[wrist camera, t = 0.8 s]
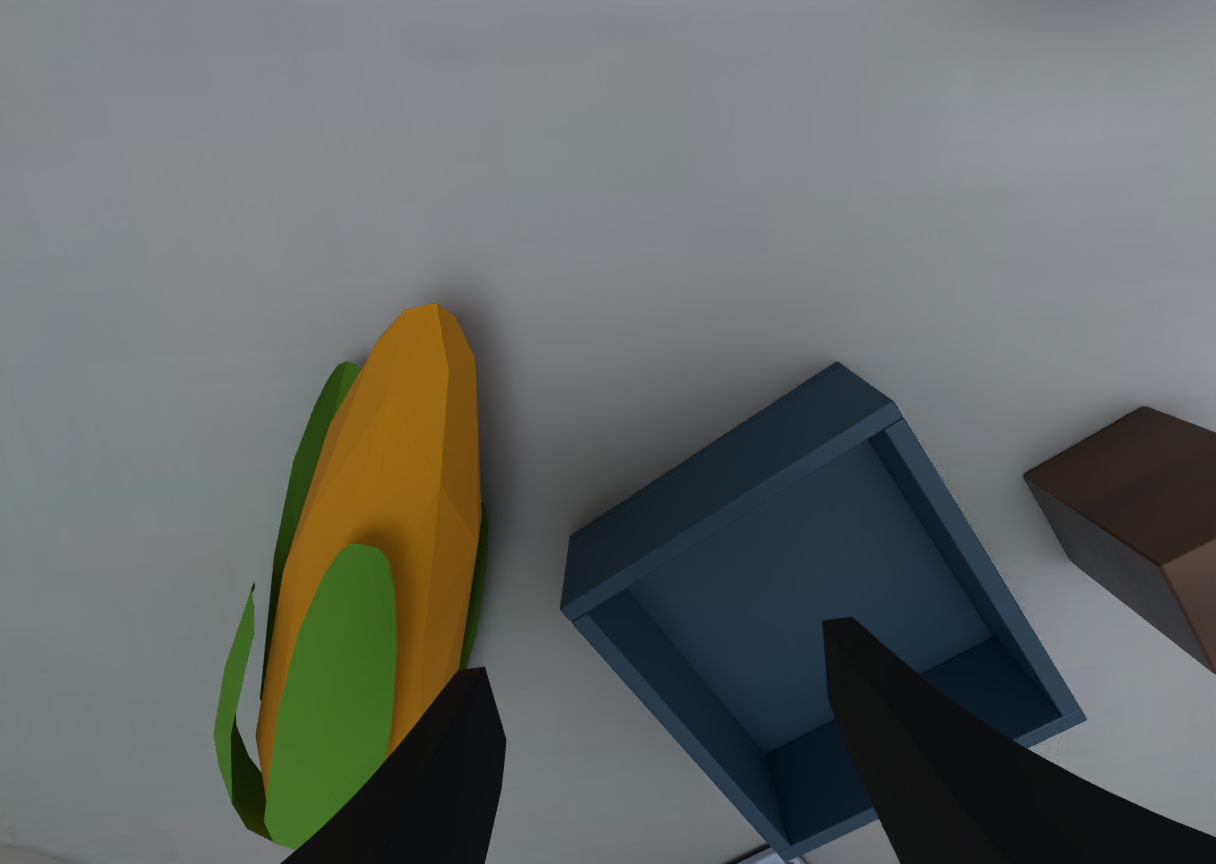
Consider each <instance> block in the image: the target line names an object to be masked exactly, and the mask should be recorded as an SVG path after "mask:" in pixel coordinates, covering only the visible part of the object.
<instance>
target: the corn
mask: <svg viewBox="0 0 1216 864" xmlns="http://www.w3.org/2000/svg"><path fill="white" fill-rule="evenodd" d="M487 540H488V525H487V518H486V510H485V505H484V504H483V503H482V501H481V487H480V461H479V434H478V408H477V382H476V359H475V357H474V354H473V352H472V350H471V348H470V346H469V344H468V342H467V340H466V338H465V335H464V333H463V331H462V329H461V327H460V325H459V323H458V321H457V318H456V317H455V316H454V315H452V314H451V313H450V312H448V311H447V310H446V309H444V308H443V307H441V306H440V305H439V304H437V303H435V304H430V305H425V306H421V307H416V308H412V309H407V310H404V312H403V313H402V314H401V315H400V316H399V317H398V318H397V319H396V320H395V321H394V323H393V324H392V325H391V326H390V327H389V328H388V329H387V330H386V331H385V332H384V334H383V335H382V336H381V337H380V338H379V340H378V342H377V343H376V345H375V346H374V348H373V350H372V352H371V353H370V355H369V357H368V359H367V360H366V362H365V364H364V366H363V367H362V369H361V371H360V370H359V368H358V367H357V365H356V364H353V363H350V362H344V363H342V364H339V365H338V366H337V367H336V369H335V370H334V371H333V373H332V374H331V376H330V377H329V379H328V380H327V382H326V384H325V386H324V388H323V390H322V392H321V394H320V396H319V398H318V400H317V402H316V404H315V406H314V409H313V412H312V414H311V417H310V419H309V422H308V425H307V427H306V430H305V432H304V435H303V438H302V440H301V443H300V445H299V448H298V451H297V453H296V456H295V459H294V461H293V466H292V471H291V476H290V481H289V486H288V490H287V495H286V500H285V505H284V510H283V515H282V520H281V525H280V530H279V535H278V540H277V544H276V549H275V554H274V563H273V573H272V583H271V593H270V603H269V613H268V623H267V634H266V644H265V654H264V664H263V674H262V684H261V694H260V699H261V707H260V712H259V718H258V724H257V730H256V741H257V747H258V753H259V759H260V765H261V772H262V773H261V772H260V771H259V769H258V768H257V767H256V765H255V764H254V763H253V761H252V760H251V759H250V757H249V756H248V753H247V751H246V748H245V746H244V743H243V741H242V738H241V736H240V733H239V731H238V728H237V726H236V709H237V704H238V700H239V695H240V691H241V687H242V682H243V678H244V673H245V669H246V665H247V660H248V656H249V652H250V648H251V644H252V639H253V635H254V605H253V597H252V593H253V591H254V588H255V583H254V584H253V586H252V589H251V592H250V595H249V598H248V601H247V604H246V607H245V610H244V613H243V615H242V618H241V621H240V624H239V627H238V630H237V633H236V636H235V639H234V642H233V645H232V648H231V651H230V654H229V657H228V660H227V663H226V666H225V669H224V675H223V681H222V687H221V693H220V699H219V705H218V711H217V717H216V723H215V729H214V740H215V746H216V752H217V758H218V764H219V768H220V771H221V774H222V777H223V780H224V782H225V785H226V788H227V791H228V794H229V796H230V799H231V802H232V805H233V806H234V808H235V809H236V811H237V813H238V814H239V816H240V818H241V819H242V821H243V823H244V824H245V826H246V828H247V829H249V830H251V831H253V832H255V833H257V834H259V835H261V836H263V837H264V838H266V839H268V840H270V841H272V842H274V843H275V844H278V845H281V846H285V847H288V848H291V849H294V850H297V849H298V848H299V847H300V846H301V845H302V844H304V843H305V842H306V841H307V840H308V839H309V838H310V837H312V836H313V835H314V834H315V833H316V832H317V831H318V830H319V829H320V828H321V827H323V826H324V825H325V824H326V823H327V822H328V821H329V820H330V819H331V818H332V817H333V816H334V815H335V814H336V813H337V812H338V811H339V810H340V809H341V808H342V807H343V806H344V805H345V804H346V803H347V802H348V801H349V800H350V799H351V798H352V797H353V796H354V795H355V794H356V793H357V792H358V791H359V790H360V788H361V787H362V786H363V785H364V784H365V783H366V782H367V781H368V780H369V779H370V777H371V776H372V775H373V774H374V773H375V772H376V771H377V769H378V768H379V767H380V766H381V765H382V764H383V762H384V761H385V760H386V759H387V758H388V757H389V756H390V754H391V753H392V752H393V751H394V750H395V749H396V748H397V746H398V745H399V744H400V743H401V741H402V740H403V739H404V738H405V736H406V735H407V734H408V733H409V732H410V730H411V729H412V728H413V727H414V725H415V724H416V723H417V722H418V720H419V719H420V718H421V716H422V715H423V714H424V713H425V711H426V710H427V709H428V707H429V706H430V705H431V704H432V702H433V701H434V700H435V698H436V697H437V696H438V695H439V693H440V692H441V691H442V689H443V688H444V687H445V686H446V684H447V683H448V682H449V680H450V679H451V678H452V677H453V675H454V674H455V673H456V672H457V670H464V669H466V668H467V664H468V661H469V657H470V654H471V650H472V646H473V643H474V639H475V636H476V631H477V624H478V618H479V611H480V605H481V598H482V592H483V585H484V579H485V572H486V562H487Z"/></svg>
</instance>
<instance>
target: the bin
mask: <svg viewBox="0 0 1216 864" xmlns="http://www.w3.org/2000/svg"><path fill="white" fill-rule="evenodd" d="M560 610H561V611H562V612H563V614H564V615H565V616H566V617H567V618H568V619H569V620H570V621H572V624H573V625H574V626H575V627H576V628H577V629H578V631H579V632H580V633H581V634H582V635H583V636H584V637H585V638H586V640H587V641H588V642H589V643H590V644H591V645H592V646H593V647H594V649H595V650H596V651H597V652H598V653H599V654H600V655H601V656H602V658H603V659H604V660H605V661H606V662H607V663H608V664H609V665H610V667H611V668H612V669H613V670H614V671H615V672H616V673H617V674H618V676H619V677H620V678H621V679H622V680H623V681H624V682H625V683H626V685H627V686H628V687H629V688H630V689H631V690H632V691H633V692H634V694H635V695H636V696H637V697H638V698H639V699H640V700H641V701H642V703H643V704H644V705H645V706H646V707H647V708H648V709H649V710H650V712H651V713H652V714H653V715H654V716H655V717H656V718H657V719H658V721H659V722H660V723H661V724H662V725H663V726H664V727H665V728H666V730H667V731H668V732H669V733H670V734H671V735H672V736H673V737H674V739H675V740H676V741H677V742H678V743H679V744H680V745H681V746H682V748H683V749H684V750H685V751H686V752H687V753H688V754H689V755H690V757H691V758H692V759H693V760H694V761H695V762H696V763H697V764H698V766H699V767H700V768H701V769H702V770H703V771H704V772H705V773H706V775H707V776H708V777H709V778H710V779H711V780H712V781H713V782H714V784H715V785H716V786H717V787H718V788H719V789H720V790H721V791H722V793H723V794H724V795H725V796H726V797H727V798H728V799H729V800H730V801H731V803H732V804H733V805H734V806H735V807H736V808H737V809H738V810H739V812H740V813H741V814H742V815H743V816H744V817H745V818H746V819H747V821H748V822H749V823H750V824H751V825H752V826H753V827H754V828H755V830H756V831H757V832H758V833H759V834H760V835H761V836H762V837H763V839H764V840H765V841H766V842H767V843H768V844H769V845H770V846H771V848H772V849H773V850H774V851H775V852H776V853H777V854H778V855H779V857H780V858H781V859H782V860H783V861H784V862H788V861H790V860H792V859H795V858H797V857H799V856H801V855H803V854H805V853H807V852H809V851H811V850H814V849H816V848H818V847H820V846H822V845H824V844H826V843H828V842H830V841H833V840H835V839H837V838H839V837H841V836H843V835H845V834H847V833H849V832H852V831H854V830H856V829H858V828H860V827H862V826H864V825H866V824H868V823H871V822H873V821H875V820H877V819H879V818H878V816H877V814H876V812H875V809H874V807H873V805H872V803H871V801H870V799H869V797H868V795H867V793H866V791H865V789H864V787H863V785H862V782H861V780H860V778H859V776H858V774H857V772H856V770H855V768H854V766H853V764H852V761H851V759H850V757H849V755H848V753H847V751H846V749H845V747H844V744H843V741H842V738H841V735H840V733H839V730H838V727H837V724H836V721H835V718H834V715H833V712H832V709H831V707H830V704H829V701H828V694H827V680H826V667H825V654H824V640H823V627H822V620H829V619H837V618H844V617H851V616H852V617H853V618H855V619H856V620H857V621H858V622H860V623H861V624H862V625H863V626H864V627H865V628H866V629H867V630H868V631H870V632H871V633H872V634H873V635H874V636H875V637H876V638H877V639H879V640H880V641H881V642H882V643H883V644H884V645H885V646H887V647H888V648H889V649H890V650H891V651H892V652H894V653H895V654H896V655H897V656H898V657H899V658H901V659H902V660H903V661H904V662H905V663H907V664H908V665H909V666H910V667H911V668H913V669H914V670H915V671H916V672H918V673H919V674H920V675H921V676H923V677H924V678H925V679H926V680H928V681H929V682H930V683H931V684H933V685H934V686H935V687H936V688H938V689H939V690H940V691H942V692H943V693H944V694H946V695H947V696H948V697H950V698H951V699H952V700H954V701H955V702H957V703H958V704H959V705H961V706H962V707H964V708H965V709H966V710H968V711H969V712H970V713H972V714H973V715H975V716H976V717H978V718H979V719H981V720H982V721H984V722H985V723H987V724H988V725H990V726H991V727H993V728H994V729H996V730H998V731H999V732H1001V733H1003V734H1004V735H1006V736H1007V737H1009V738H1011V739H1012V740H1014V741H1015V742H1017V743H1019V744H1020V745H1022V746H1024V747H1025V748H1029V747H1031V746H1033V745H1035V744H1037V743H1040V742H1042V741H1044V740H1046V739H1048V738H1050V737H1052V736H1054V735H1056V734H1059V733H1061V732H1063V731H1065V730H1067V729H1069V728H1071V727H1073V726H1075V725H1078V724H1080V723H1082V722H1084V721H1086V720H1087V718H1086V716H1085V715H1084V713H1083V711H1082V710H1081V708H1080V706H1079V705H1078V703H1077V701H1076V700H1075V698H1074V696H1073V695H1072V693H1071V691H1070V690H1069V688H1068V687H1067V685H1066V683H1065V682H1064V680H1063V678H1062V677H1061V675H1060V673H1059V672H1058V670H1057V668H1056V667H1055V665H1054V663H1053V662H1052V660H1051V659H1050V657H1049V655H1048V654H1047V652H1046V650H1045V649H1044V647H1043V645H1042V644H1041V642H1040V640H1039V639H1038V637H1037V636H1036V634H1035V632H1034V631H1033V629H1032V627H1031V626H1030V624H1029V622H1028V621H1027V619H1026V617H1025V616H1024V614H1023V613H1022V611H1021V609H1020V608H1019V606H1018V604H1017V603H1016V601H1015V599H1014V598H1013V596H1012V594H1011V593H1010V591H1009V590H1008V588H1007V586H1006V585H1005V583H1004V581H1003V580H1002V578H1001V576H1000V575H999V573H998V571H997V570H996V568H995V566H994V565H993V563H992V562H991V560H990V558H989V557H988V555H987V553H986V552H985V550H984V548H983V547H982V545H981V543H980V542H979V540H978V539H977V537H976V535H975V534H974V532H973V530H972V529H971V527H970V525H969V524H968V522H967V520H966V519H965V517H964V516H963V514H962V512H961V511H960V509H959V507H958V506H957V504H956V502H955V501H954V499H953V497H952V496H951V494H950V493H949V491H948V489H947V488H946V486H945V484H944V483H943V481H942V479H941V478H940V476H939V474H938V473H937V471H936V469H935V468H934V466H933V465H932V463H931V461H930V460H929V458H928V456H927V455H926V453H925V451H924V450H923V448H922V446H921V445H920V443H919V442H918V440H917V438H916V437H915V435H914V433H913V432H912V430H911V428H910V427H909V425H908V423H907V422H906V420H905V419H904V418H903V417H902V414H901V412H900V411H899V409H898V407H897V406H896V404H895V402H894V401H893V400H891V399H890V398H888V397H887V396H885V395H884V394H883V393H881V392H880V391H878V390H877V389H876V388H874V387H873V386H871V385H870V384H868V383H867V382H866V381H864V380H863V379H861V378H860V377H859V376H857V375H856V374H854V373H853V372H851V371H850V370H849V369H847V368H846V367H844V366H843V365H842V364H841V363H839V362H836V363H835V364H833V365H831V366H830V367H828V368H827V369H825V370H824V371H822V372H821V373H819V374H818V375H816V376H815V377H813V378H812V379H810V380H809V381H807V382H805V383H804V384H802V385H801V386H799V387H798V388H796V389H795V390H793V391H792V392H790V393H789V394H787V395H786V396H784V397H782V398H781V399H779V400H778V401H776V402H775V403H773V404H772V405H770V406H769V407H767V408H766V409H764V410H763V411H761V412H760V413H758V414H756V415H755V416H753V417H752V418H750V419H749V420H747V421H746V422H744V423H743V424H741V425H740V426H738V427H737V428H735V429H733V430H732V431H730V432H729V433H727V434H726V435H724V436H723V437H721V438H720V439H718V440H717V441H715V442H714V443H712V444H711V445H709V446H707V447H706V448H704V449H703V450H701V451H700V452H698V453H697V454H695V455H694V456H692V457H691V458H689V459H688V460H686V461H684V462H683V463H681V464H680V465H678V466H677V467H675V468H674V469H672V470H671V471H669V472H668V473H666V474H665V475H663V476H662V477H660V478H658V479H657V480H655V481H654V482H652V483H651V484H649V485H648V486H646V487H645V488H643V489H642V490H640V491H639V492H637V493H635V494H634V495H632V496H631V497H629V498H628V499H626V500H625V501H623V502H622V503H620V504H619V505H617V506H616V507H614V508H612V509H611V510H609V511H608V512H606V513H605V514H603V515H602V516H600V517H599V518H597V519H596V520H594V521H593V522H591V523H590V524H588V525H586V526H585V527H583V528H582V529H580V530H579V531H577V532H576V533H574V534H573V535H571V536H570V539H569V548H568V555H567V562H566V569H565V576H564V583H563V590H562V597H561V604H560Z"/></svg>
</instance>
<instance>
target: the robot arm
mask: <svg viewBox="0 0 1216 864" xmlns="http://www.w3.org/2000/svg"><path fill="white" fill-rule="evenodd" d="M822 627H823V640H824V654H825V667H826V680H827V694H828V701H829V704H830V707H831V709H832V712H833V715H834V718H835V721H836V724H837V727H838V730H839V733H840V735H841V738H842V741H843V744H844V747H845V749H846V751H847V753H848V755H849V757H850V759H851V761H852V764H853V766H854V768H855V770H856V772H857V774H858V776H859V778H860V780H861V782H862V785H863V787H864V789H865V791H866V793H867V795H868V797H869V799H870V801H871V803H872V805H873V807H874V809H875V812H876V814H877V816H878V818H879V820H880V822H881V824H882V826H883V828H884V830H885V832H886V834H887V836H888V838H889V841H890V843H891V845H892V847H893V849H894V851H895V853H896V855H897V857H898V860H899V862H900V864H1216V837H1214V836H1211V835H1209V834H1206V833H1204V832H1201V831H1199V830H1196V829H1194V828H1191V827H1189V826H1186V825H1183V824H1181V823H1178V822H1176V821H1173V820H1171V819H1168V818H1166V817H1164V816H1161V815H1159V814H1157V813H1154V812H1152V811H1150V810H1148V809H1145V808H1143V807H1141V806H1139V805H1137V804H1134V803H1132V802H1130V801H1128V800H1126V799H1123V798H1121V797H1119V796H1117V795H1115V794H1113V793H1110V792H1108V791H1106V790H1104V789H1102V788H1100V787H1098V786H1096V785H1094V784H1092V783H1090V782H1088V781H1086V780H1084V779H1082V778H1080V777H1078V776H1076V775H1075V774H1073V773H1071V772H1069V771H1067V770H1065V769H1063V768H1061V767H1060V766H1058V765H1056V764H1054V763H1052V762H1050V761H1048V760H1046V759H1045V758H1043V757H1041V756H1039V755H1038V754H1036V753H1034V752H1032V751H1031V750H1029V749H1027V748H1025V747H1024V746H1022V745H1020V744H1019V743H1017V742H1015V741H1014V740H1012V739H1011V738H1009V737H1007V736H1006V735H1004V734H1003V733H1001V732H999V731H998V730H996V729H994V728H993V727H991V726H990V725H988V724H987V723H985V722H984V721H982V720H981V719H979V718H978V717H976V716H975V715H973V714H972V713H970V712H969V711H968V710H966V709H965V708H964V707H962V706H961V705H959V704H958V703H957V702H955V701H954V700H952V699H951V698H950V697H948V696H947V695H946V694H944V693H943V692H942V691H940V690H939V689H938V688H936V687H935V686H934V685H933V684H931V683H930V682H929V681H928V680H926V679H925V678H924V677H923V676H921V675H920V674H919V673H918V672H916V671H915V670H914V669H913V668H911V667H910V666H909V665H908V664H907V663H905V662H904V661H903V660H902V659H901V658H899V657H898V656H897V655H896V654H895V653H894V652H892V651H891V650H890V649H889V648H888V647H887V646H885V645H884V644H883V643H882V642H881V641H880V640H879V639H877V638H876V637H875V636H874V635H873V634H872V633H871V632H870V631H868V630H867V629H866V628H865V627H864V626H863V625H862V624H861V623H860V622H858V621H857V620H856V619H855V618H853V617H852V616H851V617H844V618H837V619H829V620H822ZM505 750H506V737H505V733H504V730H503V727H502V723H501V720H500V716H499V713H498V710H497V706H496V703H495V699H494V696H493V693H492V689H491V686H490V682H489V679H488V676H487V672H486V669H485V667H478V668H471V669H464V670H457V672H456V673H455V674H454V675H453V677H452V678H451V679H450V680H449V682H448V683H447V684H446V686H445V687H444V688H443V689H442V691H441V692H440V693H439V695H438V696H437V697H436V698H435V700H434V701H433V702H432V704H431V705H430V706H429V707H428V709H427V710H426V711H425V713H424V714H423V715H422V716H421V718H420V719H419V720H418V722H417V723H416V724H415V725H414V727H413V728H412V729H411V730H410V732H409V733H408V734H407V735H406V736H405V738H404V739H403V740H402V741H401V743H400V744H399V745H398V746H397V748H396V749H395V750H394V751H393V752H392V753H391V754H390V756H389V757H388V758H387V759H386V760H385V761H384V762H383V764H382V765H381V766H380V767H379V768H378V769H377V771H376V772H375V773H374V774H373V775H372V776H371V777H370V779H369V780H368V781H367V782H366V783H365V784H364V785H363V786H362V787H361V788H360V790H359V791H358V792H357V793H356V794H355V795H354V796H353V797H352V798H351V799H350V800H349V801H348V802H347V803H346V804H345V805H344V806H343V807H342V808H341V809H340V810H339V811H338V812H337V813H336V814H335V815H334V816H333V817H332V818H331V819H330V820H329V821H328V822H327V823H326V824H325V825H324V826H323V827H321V828H320V829H319V830H318V831H317V832H316V833H315V834H314V835H313V836H312V837H310V838H309V839H308V840H307V841H306V842H305V843H304V844H302V845H301V846H300V847H299V848H298V849H297V850H296V851H294V852H293V853H292V854H291V855H290V856H289V857H288V858H286V859H285V860H284V861H283V862H282V863H281V864H485V860H486V856H487V851H488V847H489V843H490V838H491V834H492V829H493V825H494V820H495V816H496V811H497V807H498V802H499V798H500V793H501V788H502V779H503V771H504V761H505ZM737 864H805V863H804V862H803V860H802V859H801V858H800V857H797V858H795V859H792V860H790V861H788V862H784V861H783V860H782V859H781V858H780V857H779V855H778V854H777V853H776V852H775V851H774V850H773V849H772V848H771V847H770V848H768V849H766V850H764V851H762V852H760V853H758V854H755V855H753V856H751V857H749V858H747V859H745V860H743V861H741V862H739V863H737Z"/></svg>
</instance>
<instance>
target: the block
mask: <svg viewBox="0 0 1216 864" xmlns="http://www.w3.org/2000/svg"><path fill="white" fill-rule="evenodd" d="M1024 477H1025V479H1026V481H1027V483H1028V484H1029V486H1030V488H1031V490H1032V492H1033V493H1034V495H1035V497H1036V499H1037V500H1038V502H1039V504H1040V506H1041V508H1042V509H1043V511H1044V513H1045V515H1046V517H1047V518H1048V520H1049V522H1050V524H1051V525H1052V527H1053V529H1054V531H1055V533H1056V534H1057V536H1058V538H1059V540H1060V542H1061V543H1062V545H1063V547H1064V549H1065V550H1066V552H1067V554H1068V556H1069V558H1070V559H1071V561H1072V563H1073V564H1075V565H1076V566H1077V567H1078V568H1080V569H1081V570H1082V571H1083V572H1085V573H1086V574H1087V575H1089V576H1090V577H1091V578H1092V579H1094V580H1095V581H1096V582H1098V583H1099V584H1100V585H1101V586H1103V587H1104V588H1105V589H1106V590H1108V591H1109V592H1110V593H1112V594H1113V595H1114V596H1115V597H1117V598H1118V599H1119V600H1121V601H1122V602H1123V603H1124V604H1126V605H1127V606H1128V607H1129V608H1131V609H1132V610H1133V611H1135V612H1136V613H1137V614H1138V615H1140V616H1141V617H1142V618H1143V619H1145V620H1146V621H1147V622H1149V623H1150V624H1151V625H1152V626H1154V627H1155V628H1156V629H1158V630H1159V631H1160V632H1161V633H1163V634H1164V635H1165V636H1166V637H1168V638H1169V639H1170V640H1172V641H1173V642H1174V643H1175V644H1177V645H1178V646H1179V647H1180V648H1182V649H1183V650H1184V651H1186V652H1187V653H1188V654H1189V655H1191V656H1192V657H1193V658H1195V659H1196V660H1197V661H1198V662H1200V663H1201V664H1202V665H1203V666H1205V667H1206V668H1207V669H1209V670H1210V671H1211V672H1212V673H1214V674H1216V432H1213V431H1211V430H1208V429H1205V428H1203V427H1200V426H1197V425H1195V424H1192V423H1189V422H1187V421H1184V420H1181V419H1179V418H1176V417H1173V416H1171V415H1168V414H1166V413H1163V412H1160V411H1158V410H1155V409H1152V408H1150V407H1143V408H1141V409H1139V410H1137V411H1136V412H1134V413H1132V414H1130V415H1129V416H1127V417H1125V418H1123V419H1122V420H1120V421H1118V422H1116V423H1115V424H1113V425H1111V426H1109V427H1108V428H1106V429H1104V430H1102V431H1101V432H1099V433H1097V434H1095V435H1094V436H1092V437H1090V438H1088V439H1087V440H1085V441H1083V442H1081V443H1080V444H1078V445H1076V446H1074V447H1073V448H1071V449H1069V450H1067V451H1066V452H1064V453H1062V454H1060V455H1059V456H1057V457H1055V458H1053V459H1052V460H1050V461H1048V462H1046V463H1044V464H1043V465H1041V466H1039V467H1037V468H1036V469H1034V470H1032V471H1030V472H1029V473H1027V474H1025V475H1024Z"/></svg>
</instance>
